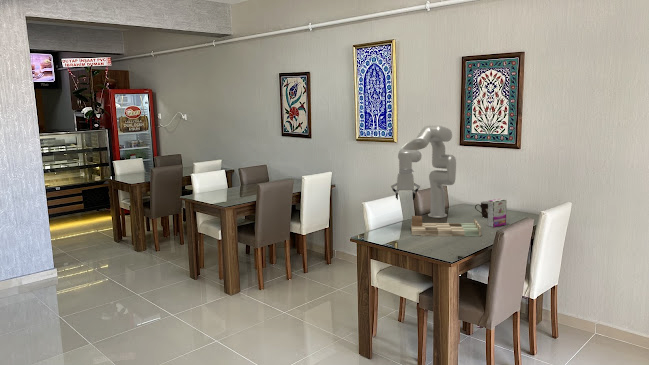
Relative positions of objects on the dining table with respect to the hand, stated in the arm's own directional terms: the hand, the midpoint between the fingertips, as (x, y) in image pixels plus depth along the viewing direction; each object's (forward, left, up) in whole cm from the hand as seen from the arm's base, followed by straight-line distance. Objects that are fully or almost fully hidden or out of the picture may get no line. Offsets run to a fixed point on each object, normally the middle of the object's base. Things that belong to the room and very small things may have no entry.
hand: (405, 199), depth 296 cm
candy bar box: (-13, +57, -19) cm, 61 cm away
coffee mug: (-37, +54, -19) cm, 68 cm away
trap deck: (+4, +23, -19) cm, 30 cm away
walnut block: (-1, +7, -16) cm, 18 cm away
